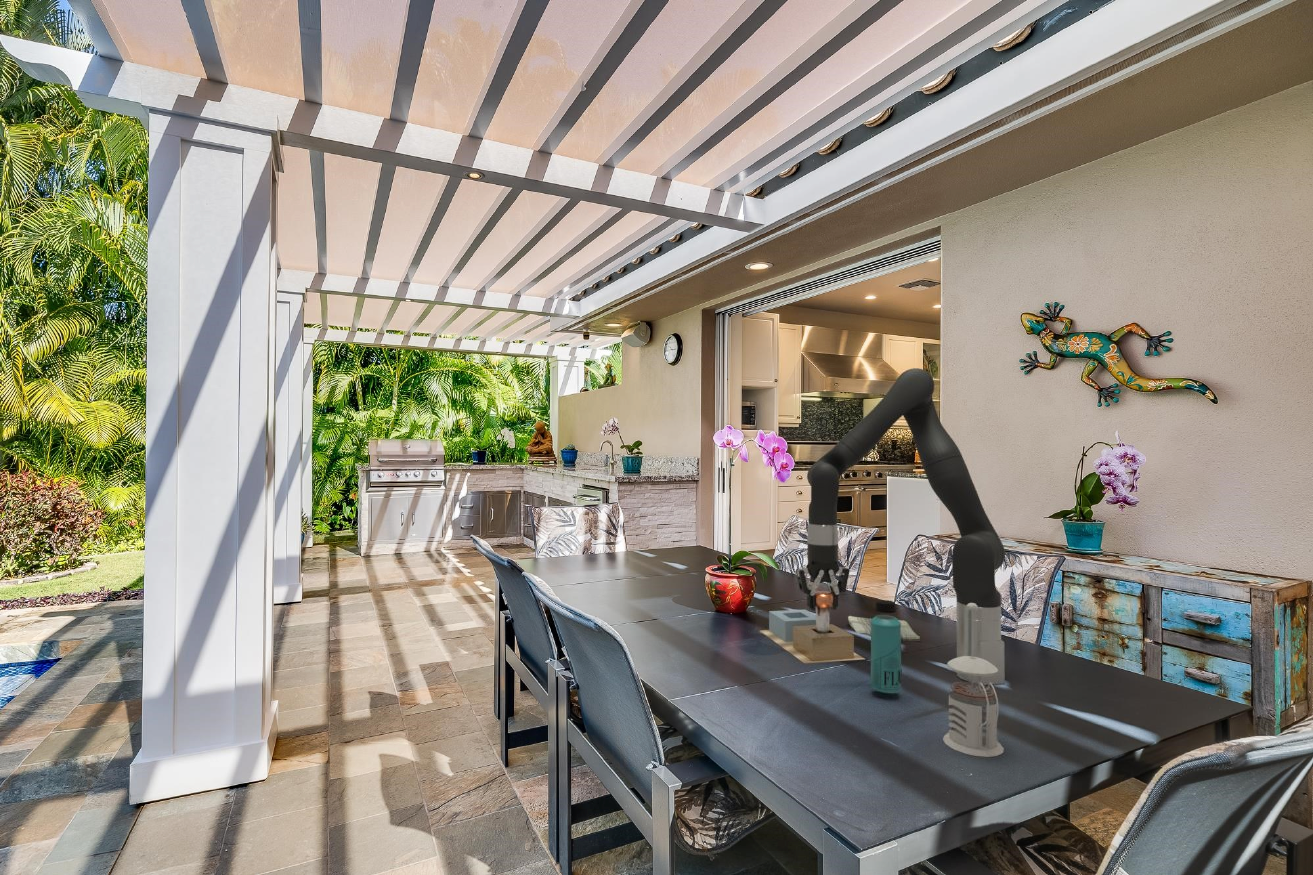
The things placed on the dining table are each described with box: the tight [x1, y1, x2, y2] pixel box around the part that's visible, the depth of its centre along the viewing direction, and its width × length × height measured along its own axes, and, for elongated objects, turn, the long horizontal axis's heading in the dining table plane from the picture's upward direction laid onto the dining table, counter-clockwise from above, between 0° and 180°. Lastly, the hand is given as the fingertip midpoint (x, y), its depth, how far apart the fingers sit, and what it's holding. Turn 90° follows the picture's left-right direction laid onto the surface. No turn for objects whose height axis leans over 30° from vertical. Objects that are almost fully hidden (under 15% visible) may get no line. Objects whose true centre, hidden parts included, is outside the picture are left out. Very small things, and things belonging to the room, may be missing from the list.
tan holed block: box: [793, 623, 855, 661], centre depth 162 cm, size 11×11×6 cm
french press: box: [942, 603, 1005, 758], centre depth 115 cm, size 10×12×25 cm
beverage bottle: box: [869, 599, 903, 694], centre depth 138 cm, size 6×7×20 cm
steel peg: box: [814, 590, 833, 634], centre depth 162 cm, size 5×5×15 cm
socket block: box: [768, 609, 816, 642], centre depth 178 cm, size 11×11×6 cm
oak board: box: [759, 629, 865, 664], centre depth 170 cm, size 29×16×2 cm, turn 12°
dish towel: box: [847, 615, 921, 642], centre depth 188 cm, size 19×18×3 cm
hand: (822, 609), depth 162 cm, fingers closed on steel peg, 5 cm apart
